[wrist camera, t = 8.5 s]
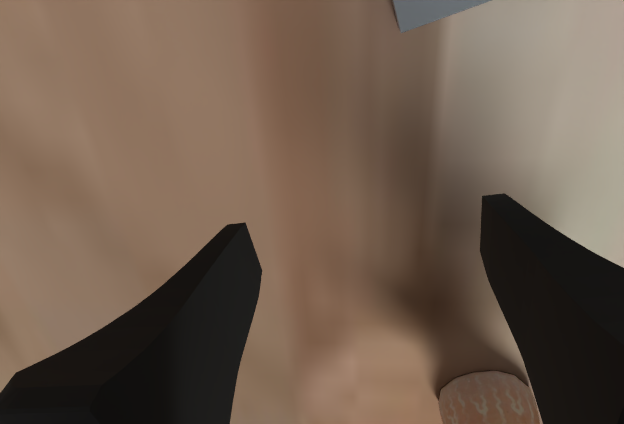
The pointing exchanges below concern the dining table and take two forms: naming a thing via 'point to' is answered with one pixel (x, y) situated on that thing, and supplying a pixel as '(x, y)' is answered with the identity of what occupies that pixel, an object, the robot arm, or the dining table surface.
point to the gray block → (428, 11)
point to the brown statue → (487, 400)
